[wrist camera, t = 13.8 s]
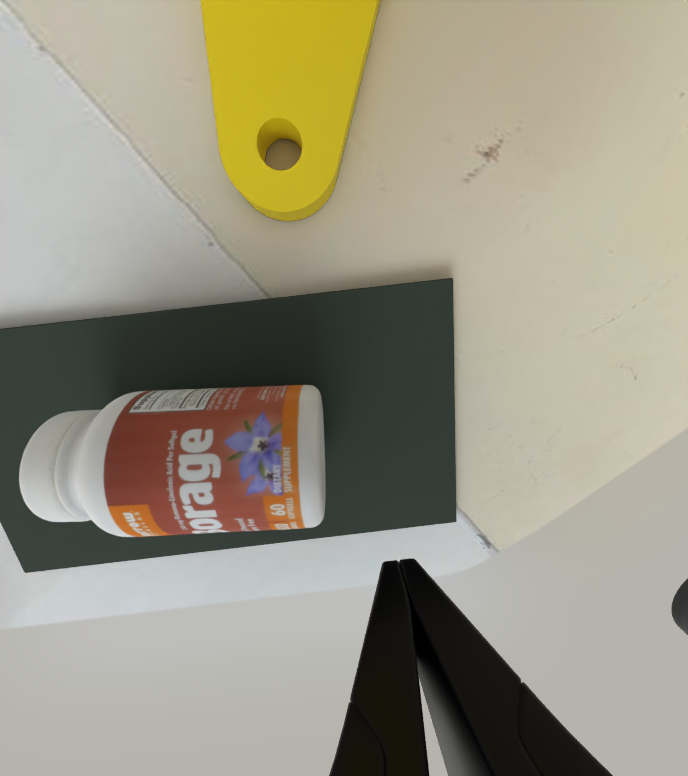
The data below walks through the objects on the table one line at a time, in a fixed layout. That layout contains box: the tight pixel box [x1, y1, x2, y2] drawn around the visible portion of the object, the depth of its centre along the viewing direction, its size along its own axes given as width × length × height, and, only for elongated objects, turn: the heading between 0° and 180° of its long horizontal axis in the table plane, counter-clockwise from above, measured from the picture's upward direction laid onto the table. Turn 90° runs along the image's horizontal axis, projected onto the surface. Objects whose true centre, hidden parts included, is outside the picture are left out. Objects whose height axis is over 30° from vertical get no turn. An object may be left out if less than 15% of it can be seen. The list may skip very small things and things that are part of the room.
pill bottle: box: [19, 385, 326, 537], centre depth 14 cm, size 6×6×11 cm
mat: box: [0, 278, 456, 573], centre depth 17 cm, size 26×14×1 cm, turn 96°
